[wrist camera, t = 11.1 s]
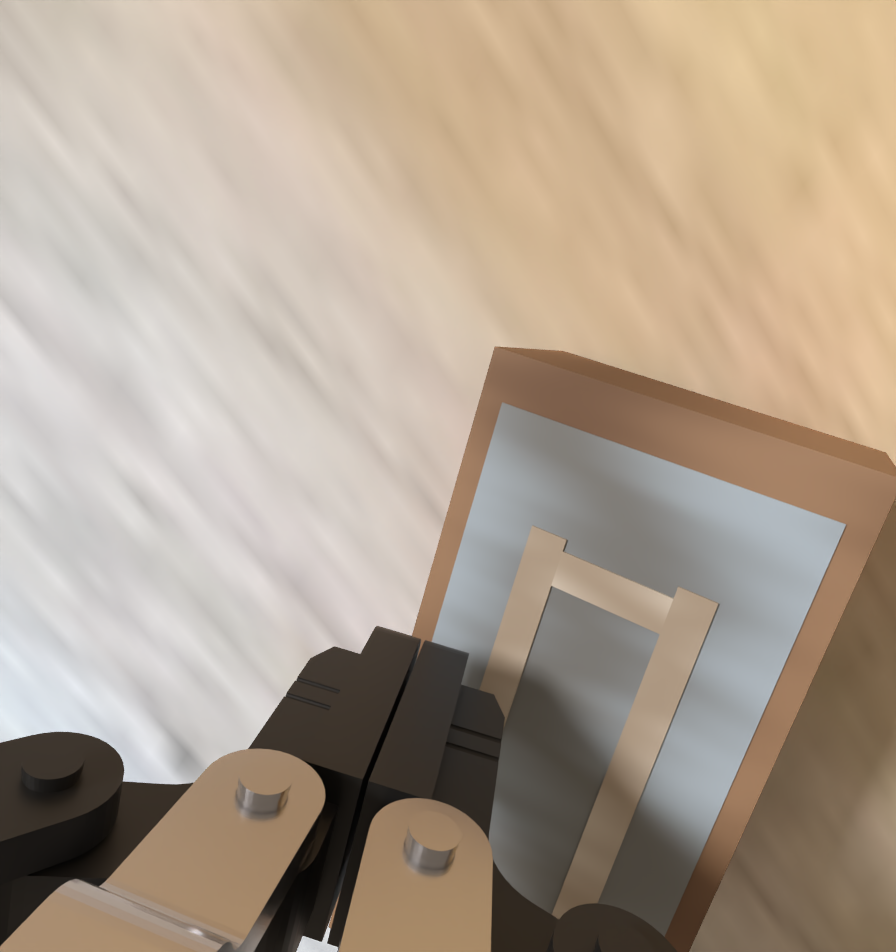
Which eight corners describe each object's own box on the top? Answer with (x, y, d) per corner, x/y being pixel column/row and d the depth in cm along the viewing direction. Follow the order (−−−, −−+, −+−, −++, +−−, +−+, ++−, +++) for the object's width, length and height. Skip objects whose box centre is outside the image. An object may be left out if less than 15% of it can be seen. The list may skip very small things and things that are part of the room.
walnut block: (650, 983, 16) (886, 452, 13) (606, 1133, 13) (905, 479, 10) (413, 832, 18) (563, 351, 15) (326, 929, 15) (492, 346, 12)
